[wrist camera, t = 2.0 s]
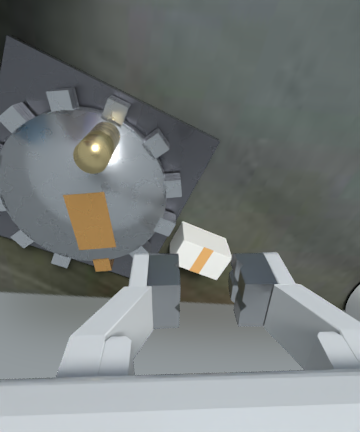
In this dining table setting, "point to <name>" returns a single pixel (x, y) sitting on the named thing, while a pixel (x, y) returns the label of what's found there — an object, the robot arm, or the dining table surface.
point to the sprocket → (84, 180)
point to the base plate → (96, 98)
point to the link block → (200, 250)
